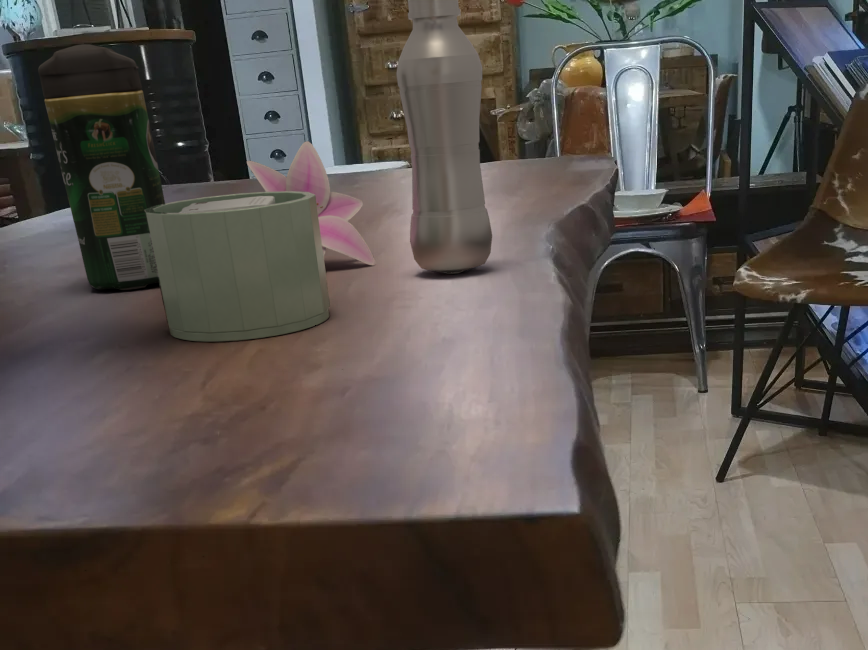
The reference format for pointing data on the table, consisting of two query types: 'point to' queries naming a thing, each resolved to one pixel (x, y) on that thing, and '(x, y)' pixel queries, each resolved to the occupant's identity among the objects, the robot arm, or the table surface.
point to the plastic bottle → (444, 140)
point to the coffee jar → (105, 161)
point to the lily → (319, 201)
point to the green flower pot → (240, 267)
